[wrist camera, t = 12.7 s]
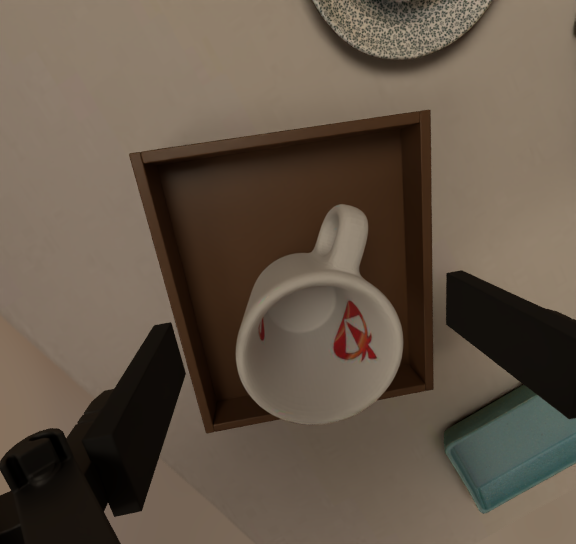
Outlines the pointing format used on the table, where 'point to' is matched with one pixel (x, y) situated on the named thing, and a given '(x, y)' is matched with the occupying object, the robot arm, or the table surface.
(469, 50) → the table surface
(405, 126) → the tray
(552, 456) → the shallow long dish
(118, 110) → the table surface
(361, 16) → the pastry
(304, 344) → the cup
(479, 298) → the robot arm
